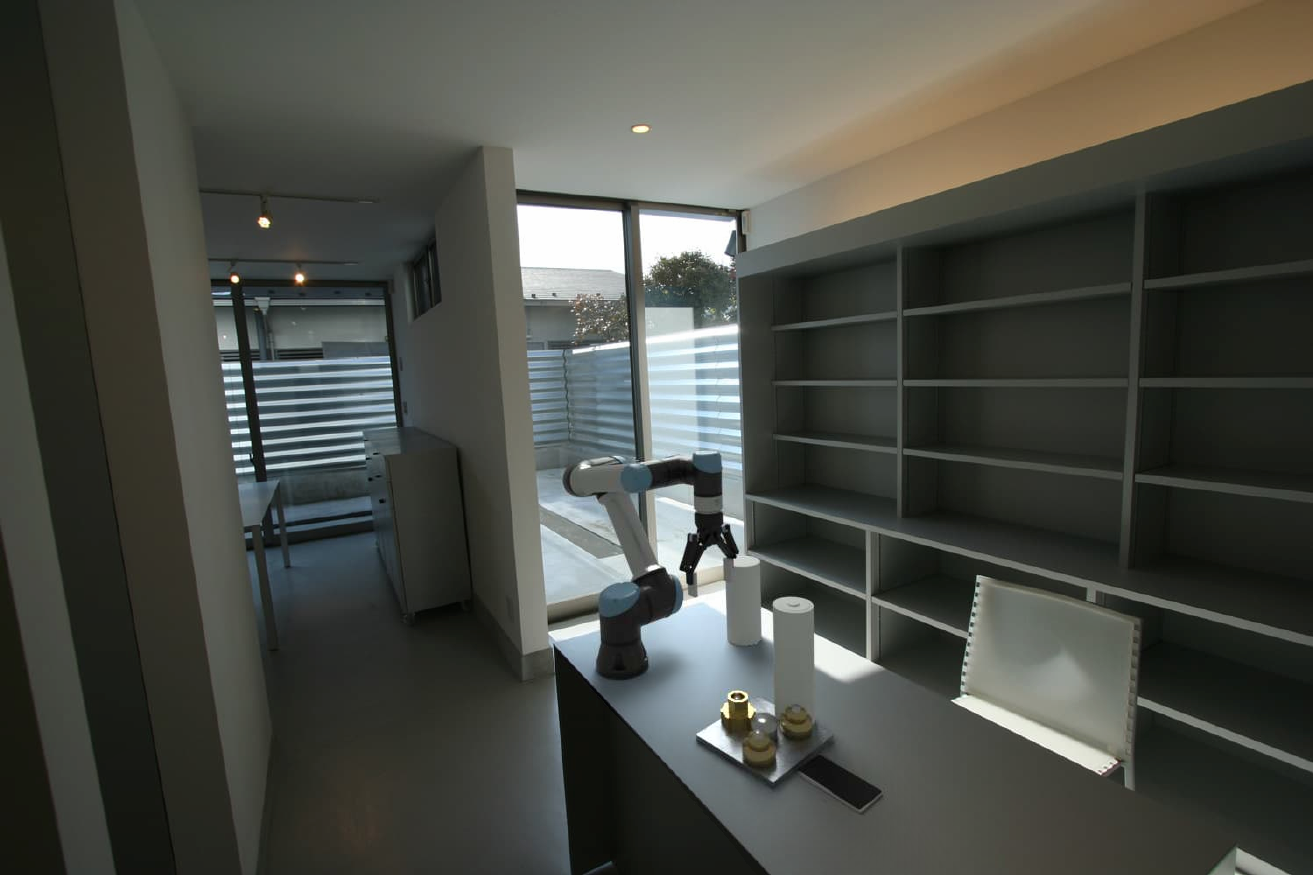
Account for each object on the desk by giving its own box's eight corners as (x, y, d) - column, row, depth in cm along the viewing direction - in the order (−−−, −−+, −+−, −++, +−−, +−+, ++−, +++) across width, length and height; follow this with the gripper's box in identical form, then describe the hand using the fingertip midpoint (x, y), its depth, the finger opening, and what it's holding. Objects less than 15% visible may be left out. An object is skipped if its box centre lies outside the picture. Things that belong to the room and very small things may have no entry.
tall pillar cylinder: (753, 648, 179) (751, 568, 176) (721, 641, 185) (718, 563, 181) (766, 634, 188) (765, 558, 184) (736, 627, 193) (734, 553, 190)
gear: (714, 719, 142) (713, 696, 141) (736, 705, 147) (736, 683, 146) (740, 734, 136) (739, 710, 135) (763, 719, 141) (762, 696, 140)
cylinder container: (816, 735, 137) (814, 611, 134) (774, 731, 139) (772, 609, 136) (813, 711, 147) (812, 595, 143) (774, 708, 148) (772, 593, 145)
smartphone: (860, 810, 113) (796, 770, 124) (860, 816, 113) (796, 775, 124) (883, 790, 118) (819, 753, 129) (883, 796, 118) (819, 758, 129)
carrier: (696, 740, 137) (695, 712, 136) (757, 701, 151) (756, 675, 150) (773, 788, 120) (772, 756, 119) (833, 740, 135) (833, 711, 134)
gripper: (684, 522, 144) (687, 606, 147) (750, 503, 160) (752, 579, 163) (663, 517, 150) (666, 598, 152) (730, 499, 166) (731, 572, 168)
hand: (711, 588), depth 157 cm, fingers open, 13 cm apart
